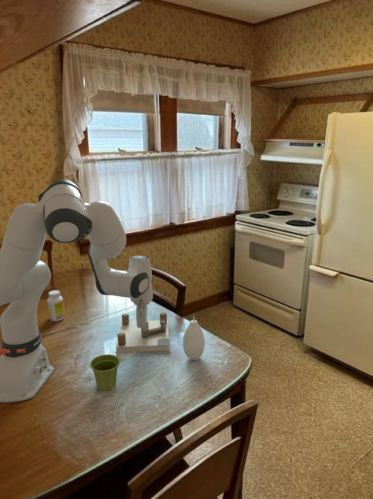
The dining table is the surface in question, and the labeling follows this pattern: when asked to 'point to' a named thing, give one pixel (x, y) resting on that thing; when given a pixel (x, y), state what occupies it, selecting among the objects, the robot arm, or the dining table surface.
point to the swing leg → (153, 330)
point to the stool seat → (135, 342)
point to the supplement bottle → (55, 306)
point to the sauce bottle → (193, 340)
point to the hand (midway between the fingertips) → (143, 326)
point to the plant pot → (105, 371)
